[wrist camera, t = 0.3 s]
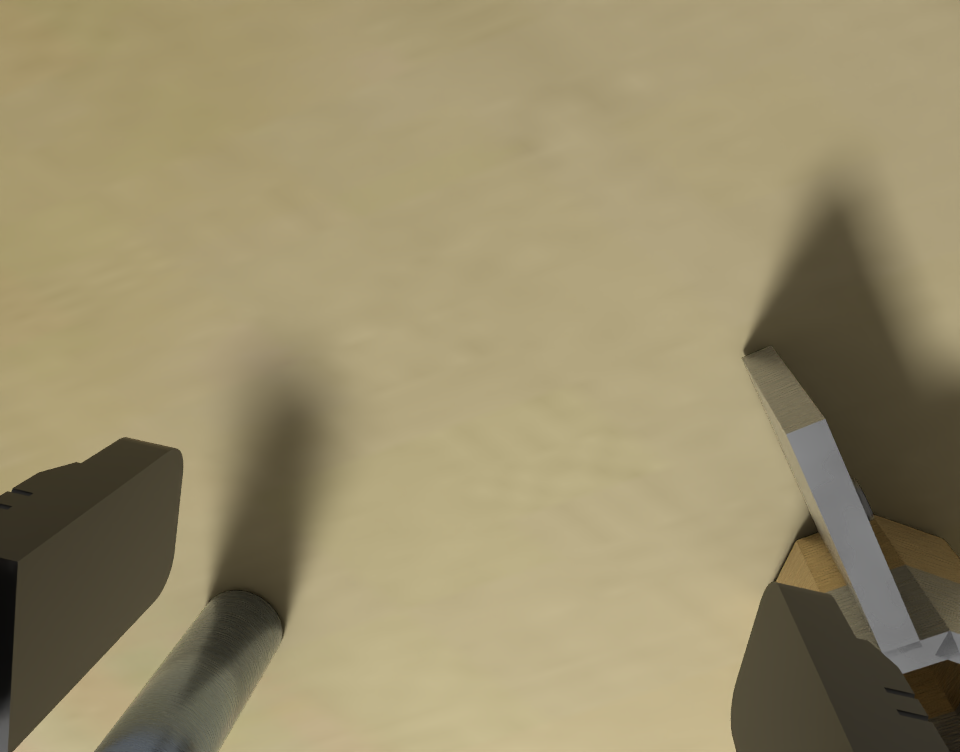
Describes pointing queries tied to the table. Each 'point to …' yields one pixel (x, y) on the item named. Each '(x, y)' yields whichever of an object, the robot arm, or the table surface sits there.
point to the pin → (202, 680)
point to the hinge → (867, 554)
